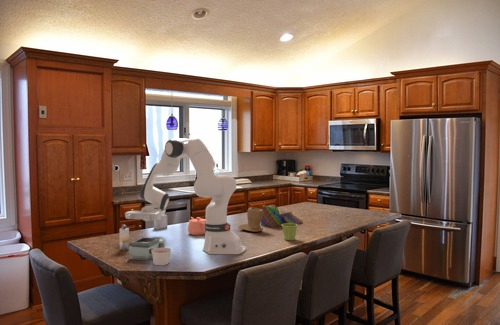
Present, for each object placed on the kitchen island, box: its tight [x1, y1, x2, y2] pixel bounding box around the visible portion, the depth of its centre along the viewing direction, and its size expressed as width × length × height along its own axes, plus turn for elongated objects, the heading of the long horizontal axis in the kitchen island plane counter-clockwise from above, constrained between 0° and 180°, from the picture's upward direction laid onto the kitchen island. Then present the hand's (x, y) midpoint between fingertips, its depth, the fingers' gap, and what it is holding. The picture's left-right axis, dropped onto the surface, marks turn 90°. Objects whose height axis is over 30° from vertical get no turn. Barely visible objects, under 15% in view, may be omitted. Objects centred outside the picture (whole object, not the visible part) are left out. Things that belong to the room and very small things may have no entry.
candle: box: [151, 247, 172, 266], centre depth 184 cm, size 9×9×6 cm
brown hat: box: [237, 207, 264, 233], centre depth 255 cm, size 15×12×15 cm
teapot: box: [187, 216, 206, 237], centre depth 247 cm, size 12×18×10 cm, turn 34°
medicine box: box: [153, 213, 168, 230], centre depth 265 cm, size 8×4×9 cm, turn 141°
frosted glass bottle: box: [119, 224, 130, 251], centre depth 210 cm, size 5×5×13 cm
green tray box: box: [128, 237, 166, 261], centre depth 199 cm, size 11×18×8 cm, turn 166°
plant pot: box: [281, 223, 299, 242], centre depth 230 cm, size 9×9×9 cm
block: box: [260, 204, 304, 229], centre depth 275 cm, size 25×17×14 cm
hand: (135, 217), depth 222 cm, fingers open, 8 cm apart
